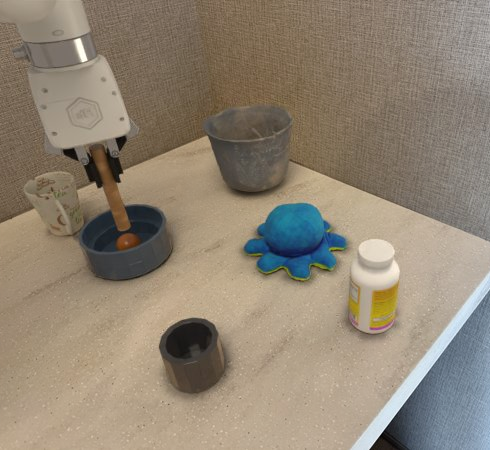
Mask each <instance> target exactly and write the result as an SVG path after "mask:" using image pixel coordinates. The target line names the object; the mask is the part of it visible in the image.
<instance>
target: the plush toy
mask: <svg viewBox="0 0 490 450" xmlns="http://www.w3.org/2000/svg"><path fill="white" fill-rule="evenodd" d="M256 231H257V235H258V237H259V238H251V239H249V240H248V241H247V242H246V243H245V244H244V247H243V252H244V253H245V255H246V256H248V257H251V256H252V257H257V256H260V258H258V259H257V261H256V265H255V266H256V269H257V270H258V271H259V272H261V273H263V274H265V275H268V274H272V273H273V272H276V271H278V270H280V269H284V270H285V272H286V273H287V275H288V276H289V277H290V278H291V279H294V280H297V281H299V280H300V281H301V282H303V281H304V282H305V281H308V280H309V279H310V278H311V276H312V272H311V266H315V267H318V268H319V269H321V270H328V271H333V270H334V268H335V267H336V265H337V258H336V257H335V255H334V254H333V252H332V251H335V250H342V251H343V250H345V249H346V248H347V247H348V242H347V239H346V238H345V236H342V235H340V234H338V233H335V232H334V233H333V232H331V231H332V226H331V224H330V222H329V221H327V220H325V219H324V218H323V216H322V213H321V212H320V210H319V209H318V208H317V207H316V206H314V205H313V204H311V203H308V202H297V203H282V204H279V205H276V206H275V207H274V208H273V209H272V210H271V211H270V212H269V214H268V215H267V216H266V219H265V221H264V222H263V223H261V224H259V225H258V226H257V229H256Z"/></svg>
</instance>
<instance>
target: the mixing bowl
mask: <svg viewBox="0 0 490 450" xmlns="http://www.w3.org/2000/svg"><path fill="white" fill-rule="evenodd" d="M124 207H125V210H126V213H127V216H128V219H129V222H130V225H131V227H130V228H129V229H128V230H126V231H119V230H118V229H117V226H116V223H115V220H114V218H113V215H112V212H111V209H110V208H109V209H107V210H104V211H102V212H100V213H98V214H96V215H95V216H94V217H93V216H92V218H91V219H89V220H88V221H86V223H84V225H83V227H82V228H81V229H80V230H79V233H78V235H77V241H78V245H79V247H80V250H81V252H82V255H83V256H84V259H85V261H86V264H87V266H88V269H89V270H90V271H91V272H92V273H93V274H94V275H95V276H97V277H100V278H103V279H105V280H118V281H120V280H127V279H133V278H136V277H139V276H143V275H145V274H147V273H150V272H151V271H153V270H154V269H156V268H158V267H160V265H162V264H163V263H164V262H165V261H166V260H167V259H168V257H169V256H170V254H171V253H172V251H173V239H172V235H171V230H170V228H169V224H168V220H167V217H166V215H165V213H164V212H163V211H162V210H161V209H160V208H159V207H157V206H153V205H149V204H147V203H146V204H145V203H144V204H143V203H133V204H124ZM125 233H133V234H135V235H137V236H138V237H139V239H140V241H141V244H140V245H139V246H136V247H133V248H130V249H127V250H124V251H118V249H117V246H116V243H117V240H118V238H119V237H120V236H121V235H123V234H125Z"/></svg>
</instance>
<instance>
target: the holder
mask: <svg viewBox="0 0 490 450" xmlns="http://www.w3.org/2000/svg"><path fill="white" fill-rule="evenodd" d="M222 348H223V347H222V343H221V338H220V334H219V331H218V329H217V327H216V324H214V323H213V322H211V321H210V320H208V319H206V318H202V317H188V318H184V319H180V320H179V321H177V322H175V323H174V324H172V325H170V326H168V327H167V329H166V330H165V331H164V333H163V334H162V335H161V336H160V340H159V343H158V350H159V354H160V356H161V359H162V361H163V365H164V367H165V370H166V372H167V376H168V378H169V382H170V383H171V385H172V387H173V388H175V389H176V390H177V391H178V392H181V393H184V394H199V393H202V392H205V391H208V390H210V389H211V388H212V387H213V386H214V385H216V384H217V383H218V382H219V380H220V379H221V377H222V376H223V374H224V371H225V357H224V353H223V351H224V350H223V349H222Z"/></svg>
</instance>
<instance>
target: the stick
mask: <svg viewBox="0 0 490 450" xmlns="http://www.w3.org/2000/svg"><path fill="white" fill-rule="evenodd" d="M88 151H89V154H90V156H91V157H92V160H93V161H94V164H95V166H96V169H97V172H98V175H99V177H100V180H101V183H102V186H103V187H102V190H103V193H104V195H105V199H106V201H107V204H108V206H109V209H111V212H112V215H113V218H114V220H115V223H116V226H117V229H118V230H119V231H126V230H128V229H129V228H130V227H131V225H130V222H129V219H128V216H127V213H126V210H125V207H124V205H125V204H124V202H123V198H122V195H121V192H120V189H119V187H118V183H116V181H115V178H114V175H113V173H112V170H111V167H110V164H109V161H108V158H107V154H106V153H107V150H106V148H105V145H104V144H102V143H93V144H91V145H90V146H89V147H88Z"/></svg>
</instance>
